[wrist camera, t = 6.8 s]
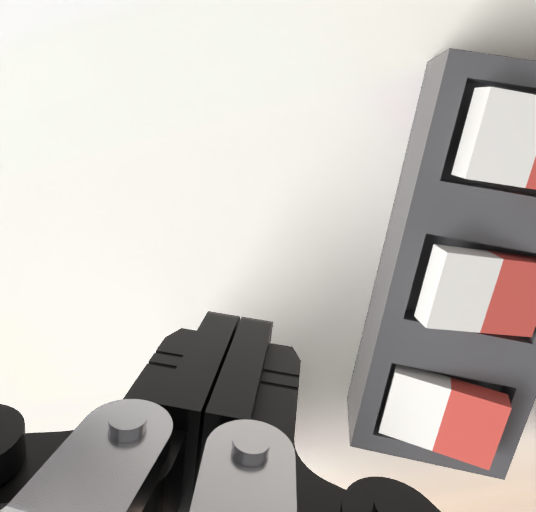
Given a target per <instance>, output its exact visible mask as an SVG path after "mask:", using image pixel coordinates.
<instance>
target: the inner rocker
mask: <svg viewBox="0 0 536 512" xmlns="http://www.w3.org/2000/svg"><path fill="white" fill-rule="evenodd" d="M451 175H454V176H458V177H461V178H464V179H470V180H476V181H483V182H489V183H496V184H502V185H509V186H515V187H522V188H528V189H535V190H536V95H535V94H529V93H524V92H518V91H513V90H507V89H501V88H496V87H479V88H475V89H474V92H473V96H472V100H471V103H470V107H469V111H468V114H467V118H466V122H465V125H464V129H463V133H462V137H461V140H460V144H459V148H458V151H457V155H456V159H455V162H454V166H453V170H452V173H451Z"/></svg>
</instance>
